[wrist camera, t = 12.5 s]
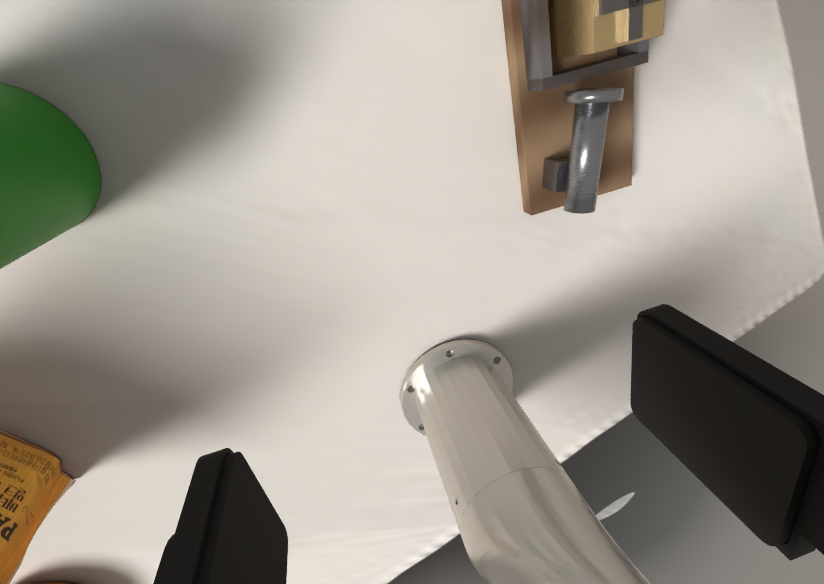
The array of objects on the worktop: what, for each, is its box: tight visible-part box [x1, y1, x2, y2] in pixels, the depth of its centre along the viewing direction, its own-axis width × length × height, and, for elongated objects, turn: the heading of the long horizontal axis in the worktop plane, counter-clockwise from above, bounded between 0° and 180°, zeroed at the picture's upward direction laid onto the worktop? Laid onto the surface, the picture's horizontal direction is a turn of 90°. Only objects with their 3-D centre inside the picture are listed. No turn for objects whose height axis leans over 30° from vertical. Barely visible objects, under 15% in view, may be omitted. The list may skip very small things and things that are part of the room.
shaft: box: [542, 87, 624, 213], centre depth 34 cm, size 9×4×7 cm, turn 3°
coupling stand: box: [502, 0, 649, 215], centre depth 31 cm, size 29×10×4 cm, turn 13°
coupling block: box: [548, 0, 665, 59], centre depth 29 cm, size 5×5×7 cm
